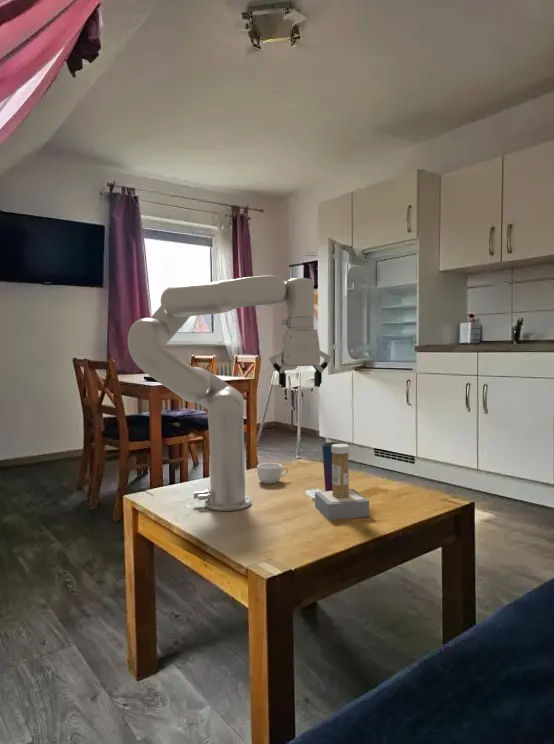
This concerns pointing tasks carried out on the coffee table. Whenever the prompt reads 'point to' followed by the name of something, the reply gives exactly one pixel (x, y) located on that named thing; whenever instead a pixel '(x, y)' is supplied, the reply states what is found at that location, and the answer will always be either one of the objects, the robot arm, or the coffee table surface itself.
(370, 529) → the coffee table surface
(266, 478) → the teacup
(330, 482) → the cup
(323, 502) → the base
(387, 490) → the coffee table surface
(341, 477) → the sprinkles bottle
